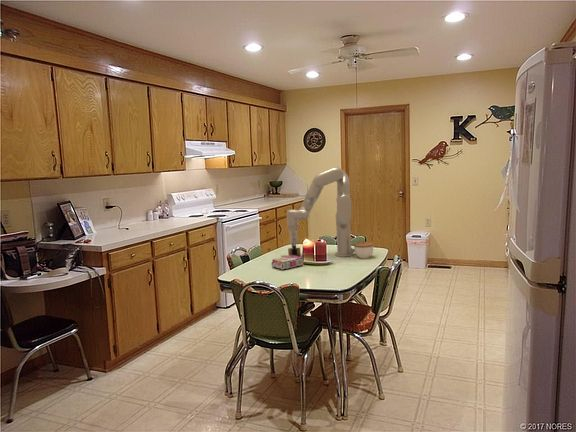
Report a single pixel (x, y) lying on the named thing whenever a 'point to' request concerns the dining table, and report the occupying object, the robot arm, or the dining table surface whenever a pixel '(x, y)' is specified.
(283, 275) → the dining table surface
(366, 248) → the lidded bowl
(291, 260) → the candy bar box
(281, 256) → the turner
